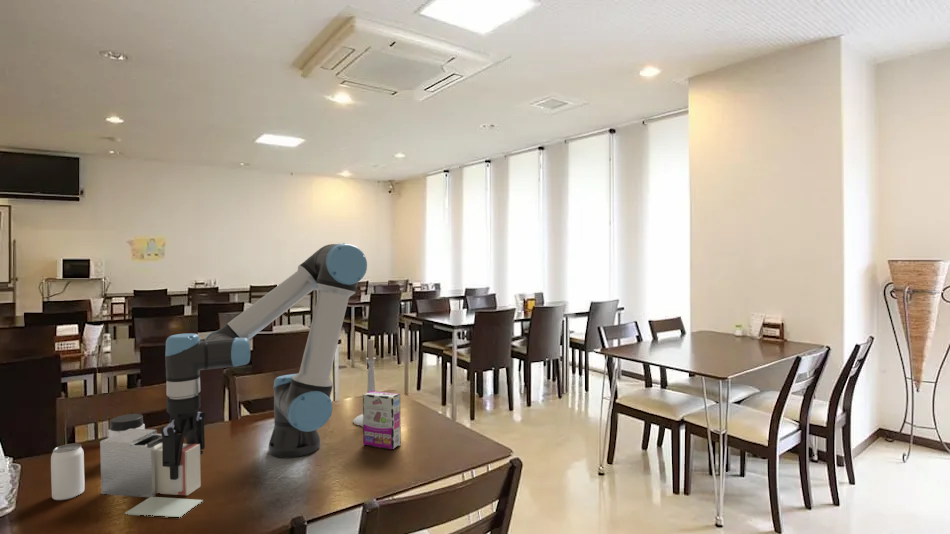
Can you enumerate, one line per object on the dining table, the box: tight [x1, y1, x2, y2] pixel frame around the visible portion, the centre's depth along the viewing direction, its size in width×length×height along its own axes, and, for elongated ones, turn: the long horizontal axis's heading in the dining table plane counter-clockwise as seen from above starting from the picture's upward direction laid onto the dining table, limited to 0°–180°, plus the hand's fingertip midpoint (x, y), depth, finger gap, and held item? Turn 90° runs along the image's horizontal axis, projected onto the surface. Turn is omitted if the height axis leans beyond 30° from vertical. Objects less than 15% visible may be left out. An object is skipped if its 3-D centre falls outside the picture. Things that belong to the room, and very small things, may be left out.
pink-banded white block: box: [145, 443, 202, 496], centre depth 132 cm, size 14×5×11 cm, turn 82°
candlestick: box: [352, 338, 377, 426], centre depth 185 cm, size 13×13×30 cm
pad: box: [124, 496, 204, 519], centre depth 123 cm, size 14×8×1 cm, turn 82°
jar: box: [107, 413, 146, 438], centre depth 152 cm, size 9×8×12 cm
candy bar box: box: [362, 390, 402, 450], centre depth 162 cm, size 11×5×16 cm, turn 68°
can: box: [50, 443, 85, 501], centre depth 129 cm, size 6×6×12 cm
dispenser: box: [99, 428, 179, 498], centre depth 133 cm, size 14×9×14 cm
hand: (185, 485), depth 132 cm, fingers closed on pink-banded white block, 5 cm apart
